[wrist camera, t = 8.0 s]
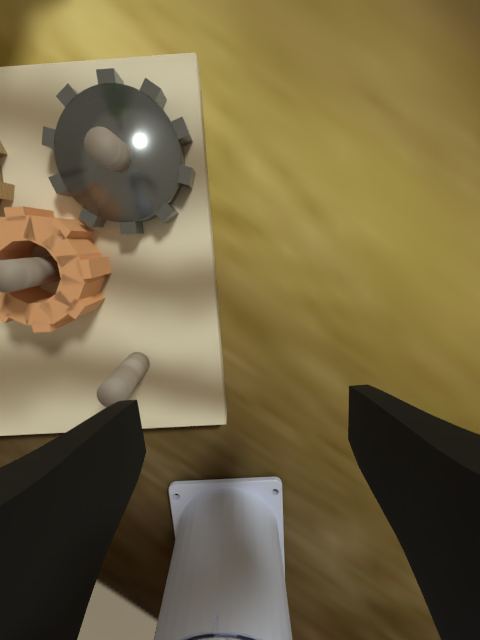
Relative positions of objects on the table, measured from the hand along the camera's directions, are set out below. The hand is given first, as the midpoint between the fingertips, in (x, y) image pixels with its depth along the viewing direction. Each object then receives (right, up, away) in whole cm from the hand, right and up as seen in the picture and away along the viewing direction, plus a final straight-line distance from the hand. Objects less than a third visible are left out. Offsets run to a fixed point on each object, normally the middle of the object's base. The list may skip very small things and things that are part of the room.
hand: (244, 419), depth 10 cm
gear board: (-11, +6, +8) cm, 15 cm away
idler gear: (-10, +6, +7) cm, 14 cm away
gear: (-6, +11, +5) cm, 14 cm away
